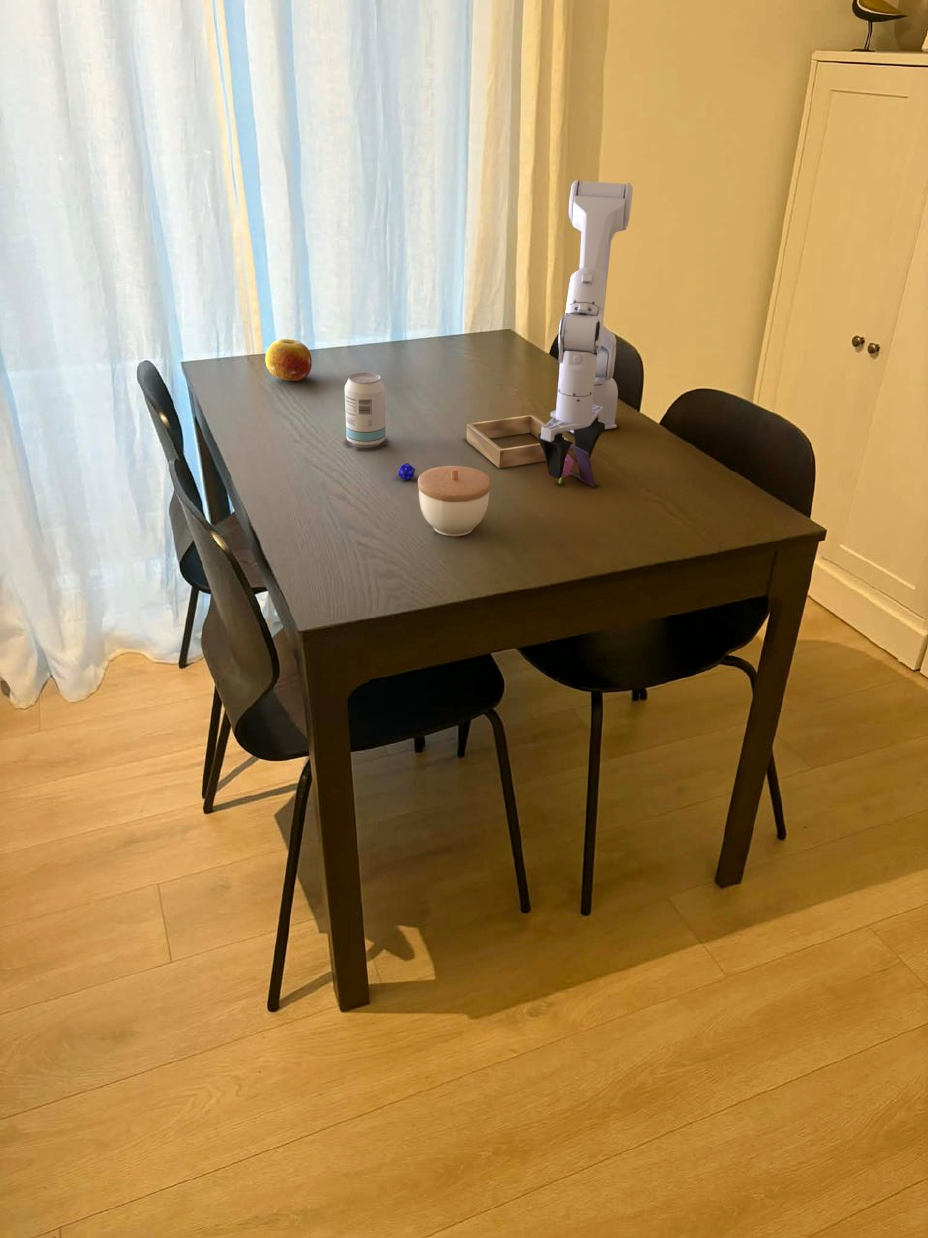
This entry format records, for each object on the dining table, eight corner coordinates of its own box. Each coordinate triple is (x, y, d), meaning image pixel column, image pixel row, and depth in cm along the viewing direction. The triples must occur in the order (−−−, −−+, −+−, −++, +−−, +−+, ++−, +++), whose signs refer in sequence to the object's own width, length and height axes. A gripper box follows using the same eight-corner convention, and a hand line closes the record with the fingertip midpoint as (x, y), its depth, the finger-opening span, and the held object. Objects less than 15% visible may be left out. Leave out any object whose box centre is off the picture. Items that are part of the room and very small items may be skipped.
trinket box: (497, 518, 151) (500, 461, 146) (475, 548, 142) (477, 489, 137) (432, 506, 154) (433, 450, 149) (407, 536, 145) (406, 477, 140)
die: (394, 480, 162) (396, 462, 163) (408, 483, 164) (410, 465, 164) (402, 477, 160) (404, 459, 160) (416, 481, 161) (418, 463, 162)
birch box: (531, 430, 182) (532, 414, 181) (567, 457, 172) (568, 440, 170) (466, 440, 177) (466, 423, 176) (499, 468, 167) (500, 450, 166)
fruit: (322, 378, 204) (320, 340, 200) (293, 389, 198) (290, 350, 193) (287, 369, 208) (284, 331, 204) (257, 380, 202) (254, 341, 198)
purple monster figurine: (592, 450, 158) (557, 432, 164) (567, 466, 156) (533, 447, 162) (598, 483, 162) (564, 464, 168) (574, 499, 161) (541, 480, 167)
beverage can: (392, 439, 177) (391, 374, 170) (373, 453, 171) (372, 386, 165) (359, 433, 179) (357, 368, 173) (339, 445, 174) (336, 379, 167)
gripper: (581, 374, 163) (574, 451, 170) (527, 395, 153) (522, 475, 161) (617, 384, 159) (608, 462, 166) (564, 406, 150) (557, 488, 157)
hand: (568, 469), depth 163 cm, fingers open, 7 cm apart
